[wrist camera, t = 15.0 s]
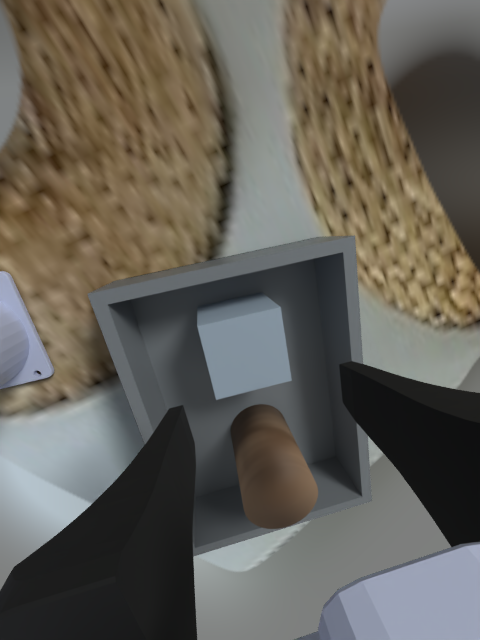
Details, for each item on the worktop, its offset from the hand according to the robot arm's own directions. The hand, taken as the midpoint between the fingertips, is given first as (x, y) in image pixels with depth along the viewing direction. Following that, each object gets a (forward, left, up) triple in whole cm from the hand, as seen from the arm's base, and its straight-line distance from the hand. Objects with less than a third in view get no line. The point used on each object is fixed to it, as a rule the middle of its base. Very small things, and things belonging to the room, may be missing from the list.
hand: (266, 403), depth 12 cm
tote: (0, -5, -10) cm, 12 cm away
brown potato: (0, -9, -10) cm, 14 cm away
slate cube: (0, 0, -10) cm, 10 cm away
